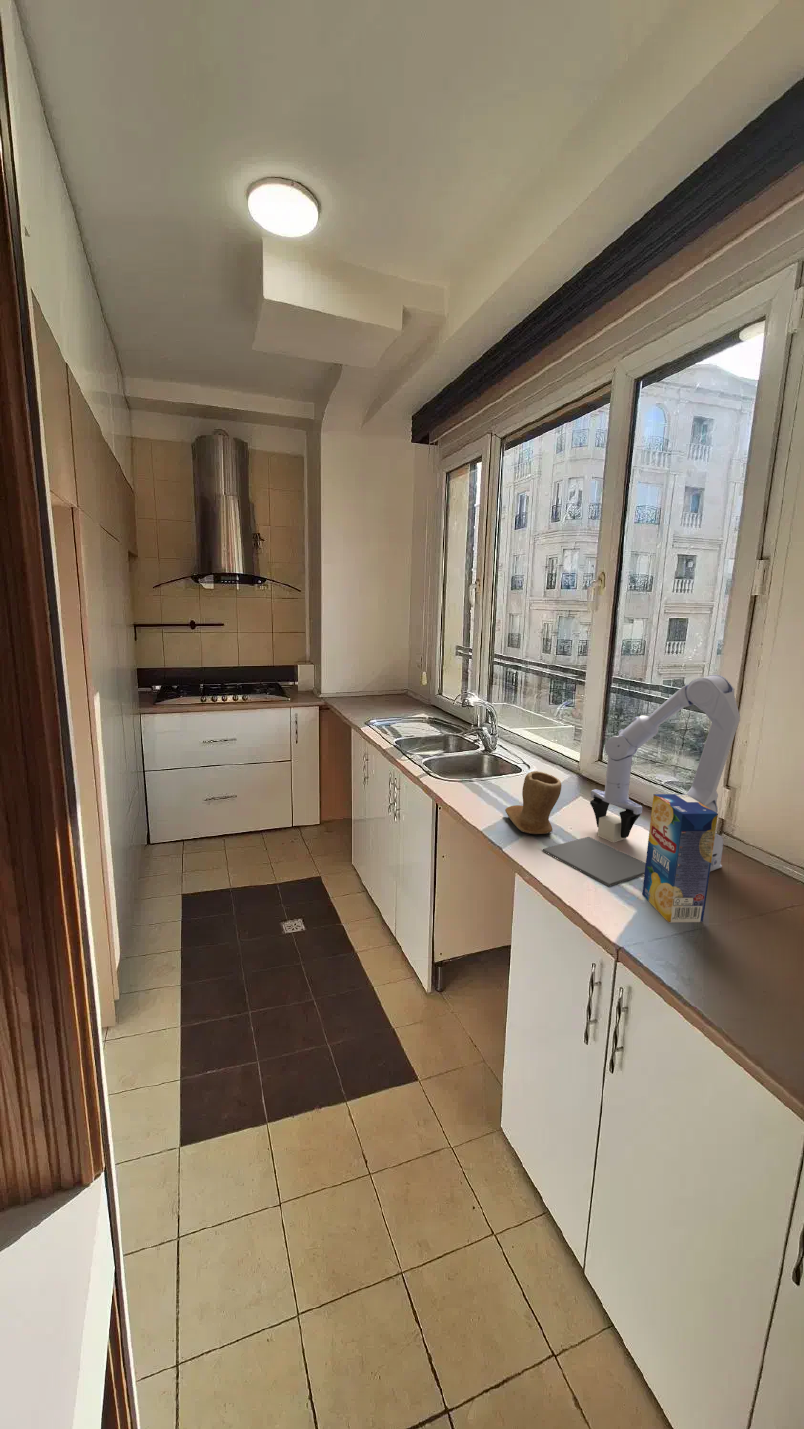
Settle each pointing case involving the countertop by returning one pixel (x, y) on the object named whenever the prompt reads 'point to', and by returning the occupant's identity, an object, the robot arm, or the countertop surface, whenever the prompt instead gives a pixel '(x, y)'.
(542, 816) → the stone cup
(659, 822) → the beverage box
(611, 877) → the charcoal mat
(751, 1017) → the countertop surface
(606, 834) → the cream cube
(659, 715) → the robot arm
